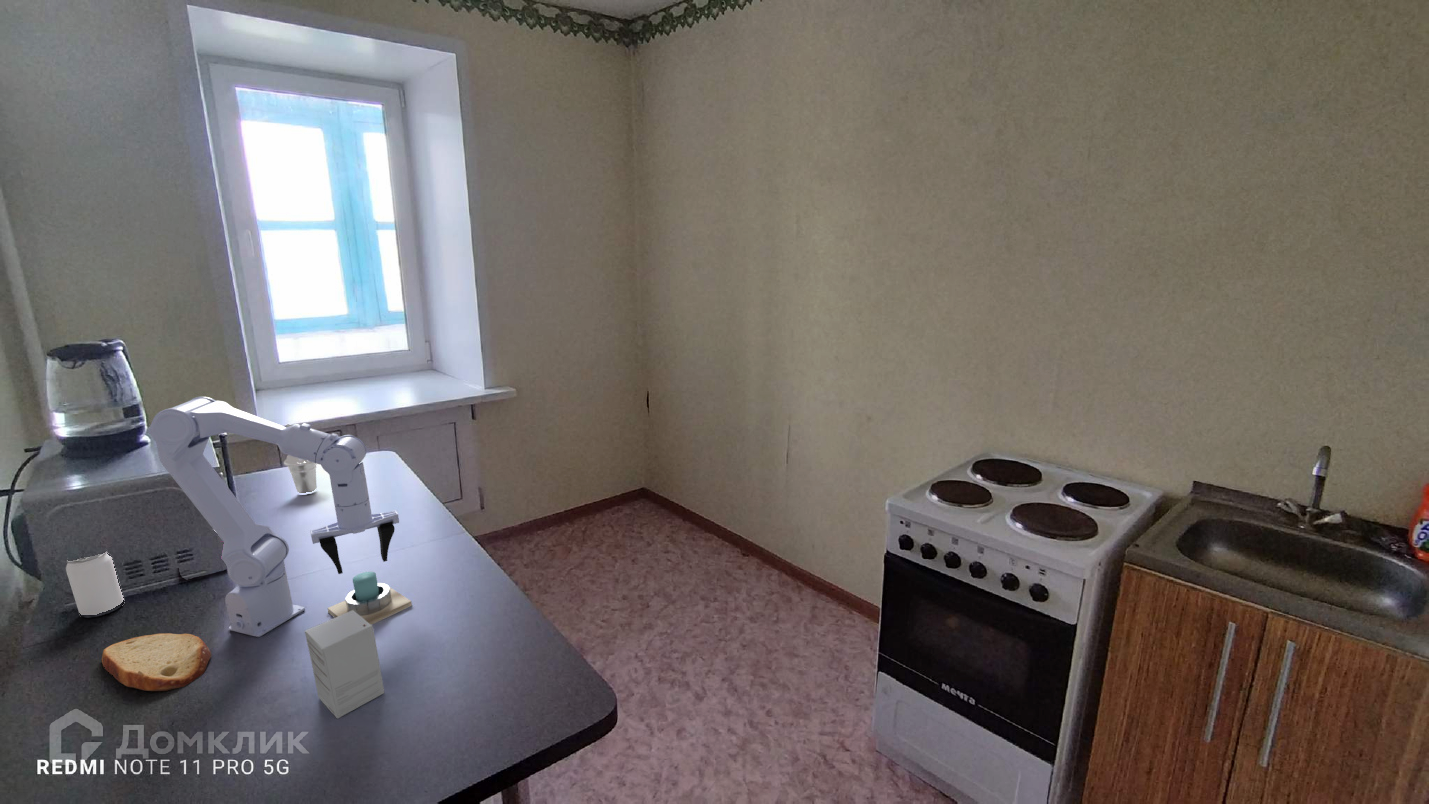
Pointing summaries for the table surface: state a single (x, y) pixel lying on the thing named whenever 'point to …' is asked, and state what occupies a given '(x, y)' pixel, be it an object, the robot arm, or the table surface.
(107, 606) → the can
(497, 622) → the table surface
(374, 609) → the socket collar
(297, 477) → the cup with straw
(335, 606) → the dock plate
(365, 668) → the supplement box
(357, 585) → the teal cylinder
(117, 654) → the slice of bread
